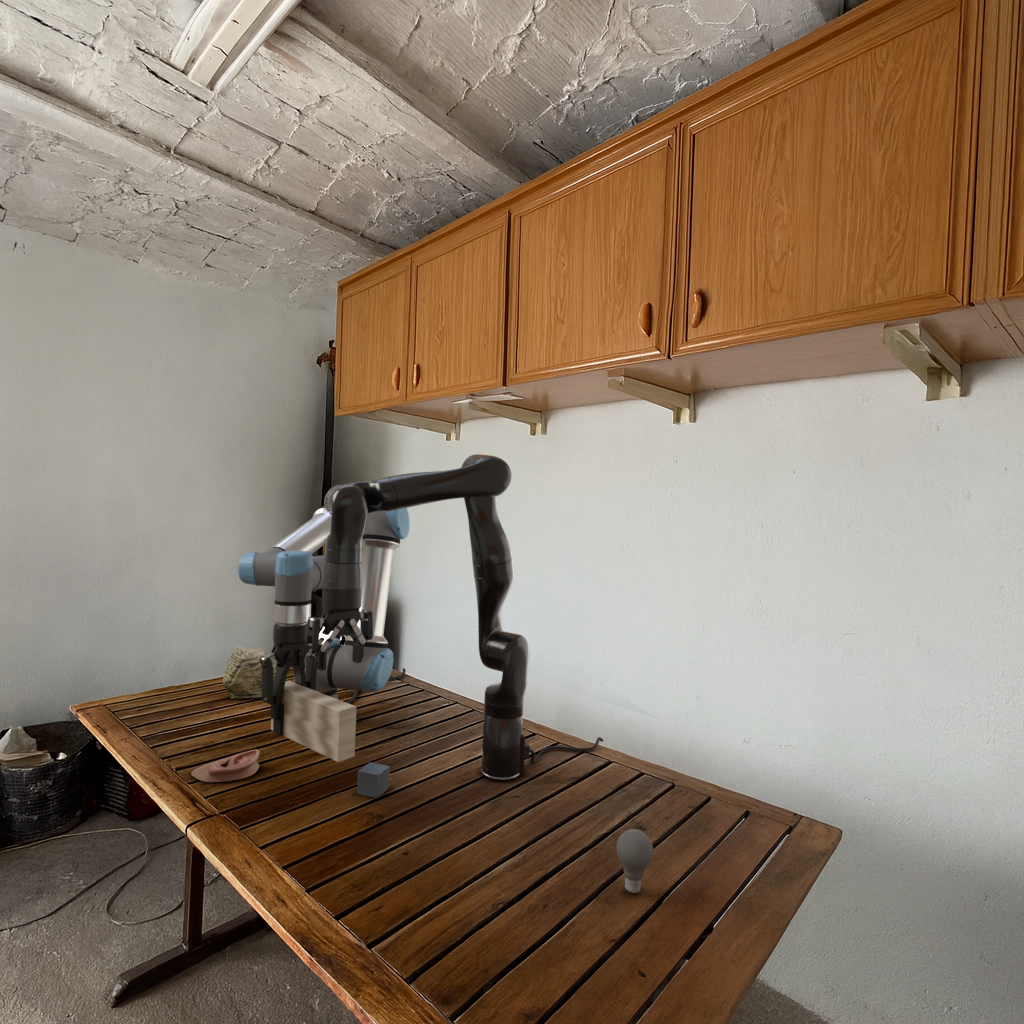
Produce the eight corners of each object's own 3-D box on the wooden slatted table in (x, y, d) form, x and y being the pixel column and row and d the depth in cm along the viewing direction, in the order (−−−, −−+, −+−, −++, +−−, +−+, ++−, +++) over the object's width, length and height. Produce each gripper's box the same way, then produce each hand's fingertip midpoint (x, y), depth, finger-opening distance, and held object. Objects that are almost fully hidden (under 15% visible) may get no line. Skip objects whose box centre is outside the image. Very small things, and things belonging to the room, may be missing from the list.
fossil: (218, 695, 195) (220, 647, 195) (278, 685, 208) (279, 640, 207) (228, 703, 189) (230, 653, 188) (289, 692, 201) (290, 645, 201)
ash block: (270, 729, 137) (272, 684, 137) (287, 725, 141) (288, 680, 140) (337, 762, 123) (339, 711, 122) (354, 756, 126) (356, 706, 125)
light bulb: (610, 879, 108) (613, 822, 108) (644, 879, 109) (647, 822, 109) (619, 902, 102) (622, 840, 102) (655, 901, 103) (658, 840, 103)
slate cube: (369, 784, 140) (370, 762, 140) (389, 788, 139) (389, 766, 139) (356, 794, 136) (357, 770, 136) (377, 798, 134) (378, 775, 134)
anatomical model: (182, 760, 139) (216, 741, 150) (181, 778, 139) (216, 758, 150) (236, 768, 136) (267, 748, 147) (235, 786, 136) (266, 765, 147)
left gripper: (316, 615, 145) (312, 716, 146) (245, 625, 132) (241, 736, 133) (336, 620, 141) (332, 725, 141) (264, 631, 127) (260, 746, 128)
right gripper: (359, 580, 133) (356, 656, 134) (300, 585, 122) (296, 668, 123) (383, 584, 129) (379, 663, 129) (323, 590, 118) (319, 676, 118)
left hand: (288, 730), depth 137 cm, fingers closed on ash block, 4 cm apart
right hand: (339, 666), depth 126 cm, fingers open, 8 cm apart
